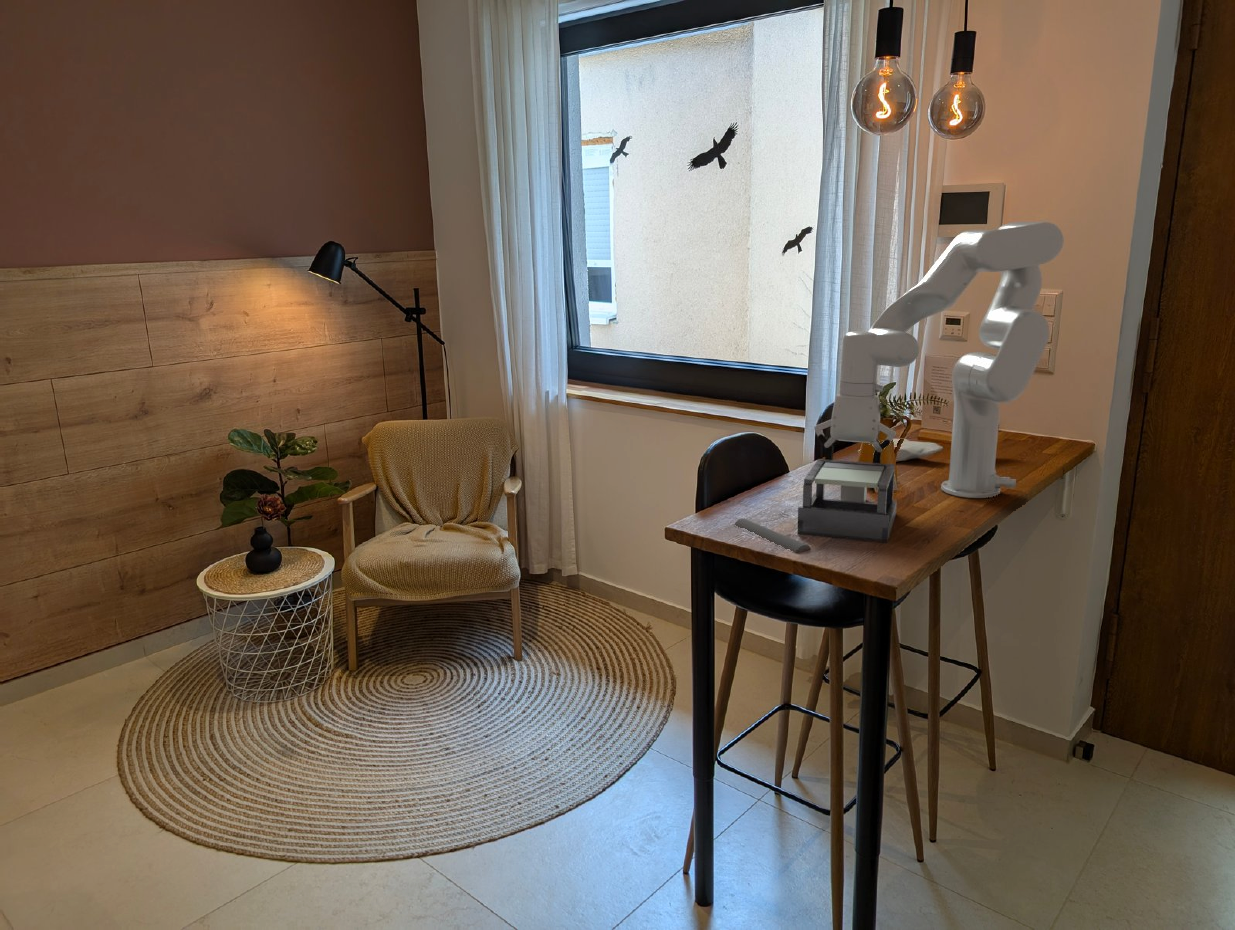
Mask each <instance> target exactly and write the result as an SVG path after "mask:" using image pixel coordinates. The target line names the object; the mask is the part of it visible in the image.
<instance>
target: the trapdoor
mask: <svg viewBox="0 0 1235 930" xmlns="http://www.w3.org/2000/svg"><path fill="white" fill-rule="evenodd" d="M884 471H885V470H884V467H883V466H869V465H855V464H841V463H827V462H826V463H825V464H824V465H823V467H822V468H821V470H820V471H819V473H818V474H817V476H816V477H815V480H814V484H816V483H817V484H825V485H829V486H830V485H832V486H841V485H843V486H855V487H867V489H868V488H870V489H872V488H873V489H878V488H879V483H880V481H881V478H882V476H883V474H884Z"/></svg>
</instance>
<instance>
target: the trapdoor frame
mask: <svg viewBox="0 0 1235 930" xmlns="http://www.w3.org/2000/svg"><path fill="white" fill-rule="evenodd" d="M826 462H827V463H841V464H855V465H869V466H883V467H884V474H883V476H882V478H881V481H880V482H879V485H878V491H877V503H876V502H867V501H866V502H857V501H845V500H841V499H831V498H825V485H826V484H817V483H815V477H816V476H817V474H818V473H819V471H820V470H821V468H822V467H823V465H824V464H825V463H826ZM895 469H896V464H894V463H883V462H882V463H881V462H880V463H873V462H868V461H867V462H865V461H864V462H863V461H853V460H852V461H850V460H838V459H836V460H835V459H833V460H825V458H824V459H821V458H818V459H817V461H816V462H815V463H814V465H813V466H812V468H811V469H810V470H809V472H808V473H807V474H806V475H805V477H804V479H803V484H802V485H803V486H802V488H803V489H802V505H798V508H797V534H798V535H807V536H817V537H826V538H834V539H835V538H836V539H847V540H857V541H864V542H865V541H867V542H874V543H875V542H877V543H888V541H889V538H890V535H891V532H892V528H893V524H894V522H895V518H896V515H897V506H898V505H897V503H898V502H897V501H898V500H897V499H894V485H895ZM813 483H815V484H816V486H815V488H816V489H815V493H813Z"/></svg>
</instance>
